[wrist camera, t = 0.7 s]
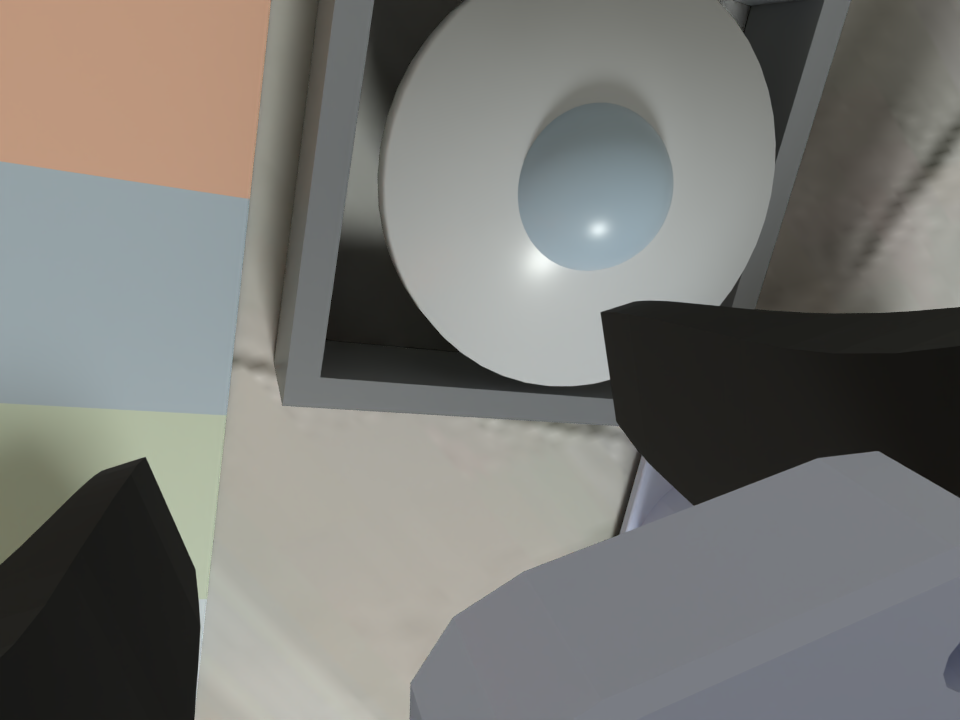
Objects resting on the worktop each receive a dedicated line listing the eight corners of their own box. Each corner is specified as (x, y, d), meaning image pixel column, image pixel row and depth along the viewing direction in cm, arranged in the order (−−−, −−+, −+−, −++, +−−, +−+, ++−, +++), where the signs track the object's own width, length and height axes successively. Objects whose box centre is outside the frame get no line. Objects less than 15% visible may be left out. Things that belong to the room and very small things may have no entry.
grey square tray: (782, -18, 22) (860, -29, 19) (664, 393, 26) (716, 431, 23) (338, -161, 18) (360, -201, 15) (273, 363, 21) (282, 405, 19)
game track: (277, -60, 18) (277, -60, 18) (190, 754, 25) (190, 756, 25) (-82, -156, 15) (-83, -157, 15) (-67, 778, 22) (-68, 781, 22)
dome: (763, 20, 21) (878, 10, 17) (665, 368, 24) (746, 422, 20) (403, -89, 17) (453, -129, 14) (339, 338, 20) (367, 397, 16)
